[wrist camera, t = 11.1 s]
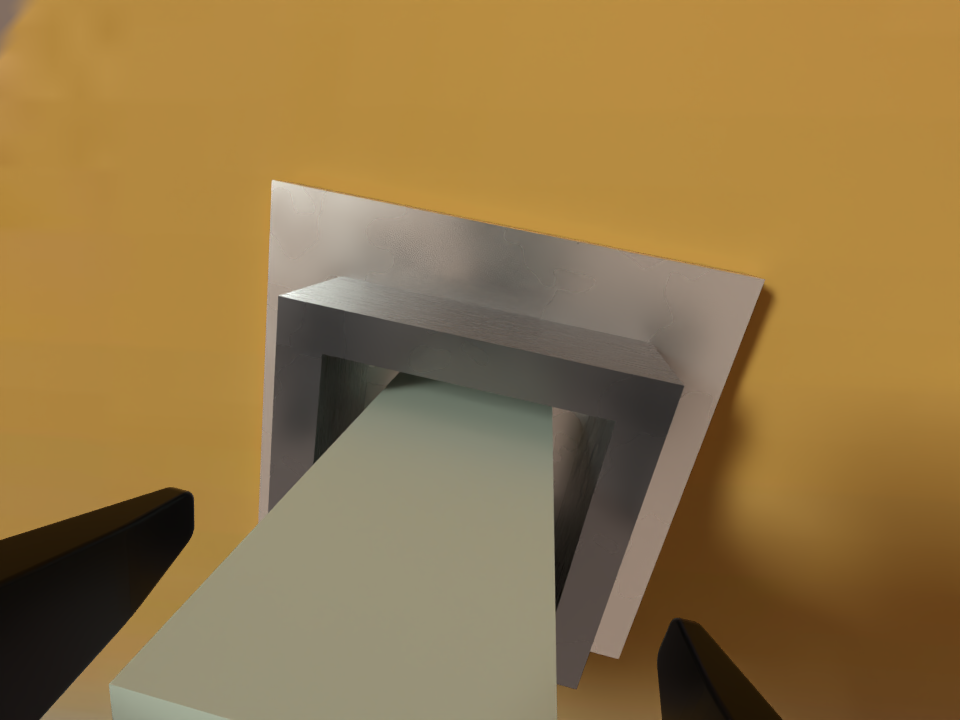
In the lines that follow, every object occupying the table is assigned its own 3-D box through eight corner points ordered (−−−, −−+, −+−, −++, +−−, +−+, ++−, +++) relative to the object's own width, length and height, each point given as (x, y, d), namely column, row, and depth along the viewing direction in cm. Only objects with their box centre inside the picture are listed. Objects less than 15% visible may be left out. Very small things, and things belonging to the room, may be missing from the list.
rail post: (520, 523, 14) (471, 1041, 5) (388, 490, 14) (134, 930, 5) (551, 398, 12) (558, 814, 4) (405, 365, 13) (108, 683, 4)
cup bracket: (615, 637, 15) (635, 767, 12) (270, 546, 16) (191, 640, 13) (751, 275, 11) (842, 303, 8) (289, 181, 12) (182, 169, 9)
